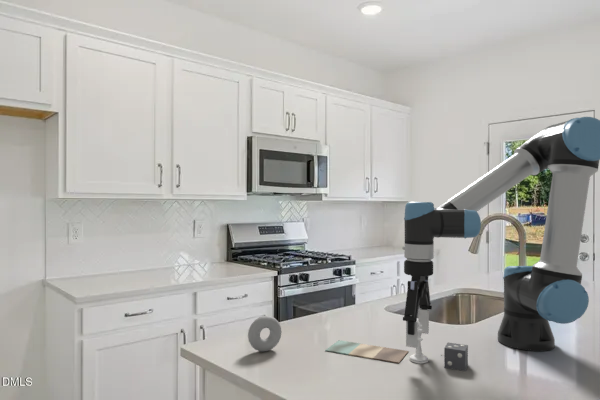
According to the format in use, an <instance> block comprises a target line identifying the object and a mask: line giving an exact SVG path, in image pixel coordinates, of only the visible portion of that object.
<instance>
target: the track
mask: <svg viewBox="0 0 600 400" xmlns="http://www.w3.org/2000/svg"><path fill="white" fill-rule="evenodd" d="M325 352H329V353H335V354H342V355H347V356H352V357H357V358H358V357H360V358H364V359H369V360H377V361H381V362H388V363H394V364H400V363H401V362H402V361H403V359H404V358H405V357H406V355H408V353H409V350H406V349H405V350H404V349H398V348H391V347H387V346H386V347H385V346H380V345H371V344H366V343H359V342H353V341H347V340H340V339H339V340H337V341H336V342H334V343H332V345H330V346H329V347H327V348H326V349H325Z"/></svg>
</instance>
